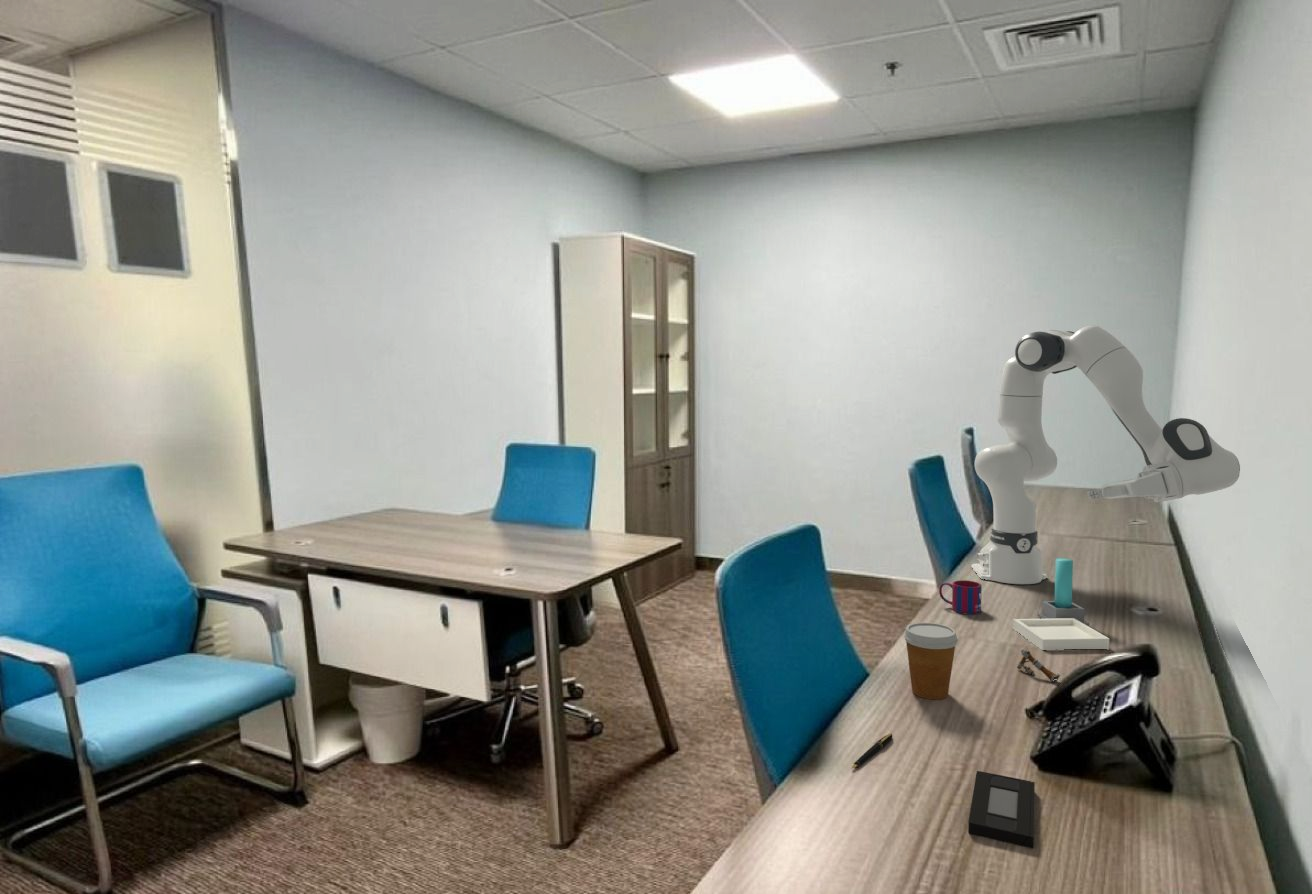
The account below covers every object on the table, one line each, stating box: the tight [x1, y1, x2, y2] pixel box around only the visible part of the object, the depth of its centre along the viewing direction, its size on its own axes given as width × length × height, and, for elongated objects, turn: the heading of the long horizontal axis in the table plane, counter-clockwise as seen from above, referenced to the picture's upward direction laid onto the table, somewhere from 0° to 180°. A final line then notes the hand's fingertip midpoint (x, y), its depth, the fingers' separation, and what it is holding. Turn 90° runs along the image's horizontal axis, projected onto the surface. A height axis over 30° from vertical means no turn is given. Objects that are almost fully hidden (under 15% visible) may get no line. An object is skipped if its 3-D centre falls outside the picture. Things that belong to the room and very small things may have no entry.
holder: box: [1037, 600, 1090, 627], centre depth 180 cm, size 8×8×4 cm
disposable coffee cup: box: [903, 622, 959, 700], centre depth 141 cm, size 10×10×12 cm
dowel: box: [1054, 558, 1074, 608], centre depth 180 cm, size 4×4×14 cm
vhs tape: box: [967, 770, 1036, 850], centre depth 102 cm, size 8×14×2 cm, turn 153°
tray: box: [1012, 618, 1110, 651], centre depth 168 cm, size 14×14×2 cm
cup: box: [938, 579, 983, 615], centre depth 191 cm, size 7×10×7 cm
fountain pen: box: [850, 732, 893, 769], centre depth 119 cm, size 14×1×2 cm, turn 139°
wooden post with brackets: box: [1016, 649, 1061, 683], centre depth 148 cm, size 2×8×4 cm, turn 30°
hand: (1095, 494), depth 180 cm, fingers open, 8 cm apart
